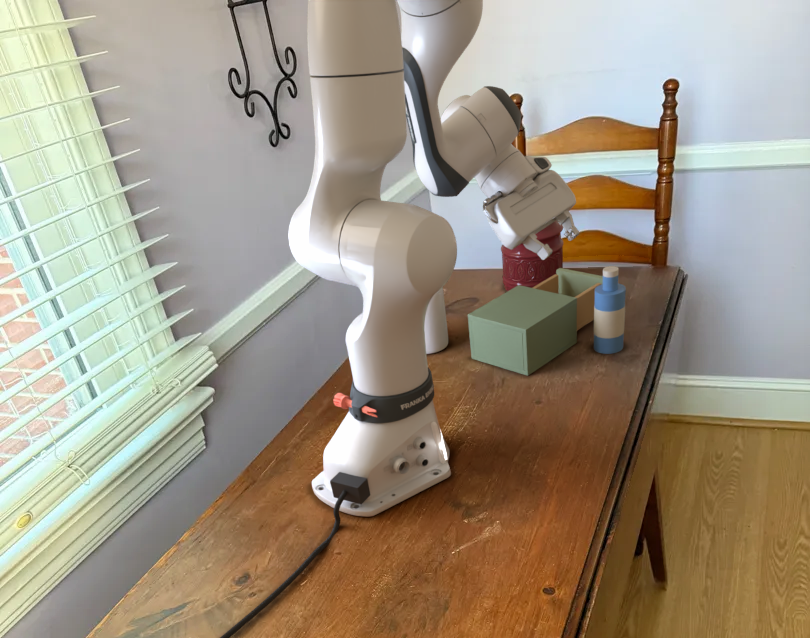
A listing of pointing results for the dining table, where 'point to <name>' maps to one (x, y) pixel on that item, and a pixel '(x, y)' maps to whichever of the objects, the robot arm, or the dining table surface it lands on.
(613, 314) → the bottle
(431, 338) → the pill bottle
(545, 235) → the kitchen canister
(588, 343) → the dining table surface
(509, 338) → the cabinet
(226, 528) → the dining table surface
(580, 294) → the drawer
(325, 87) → the robot arm
